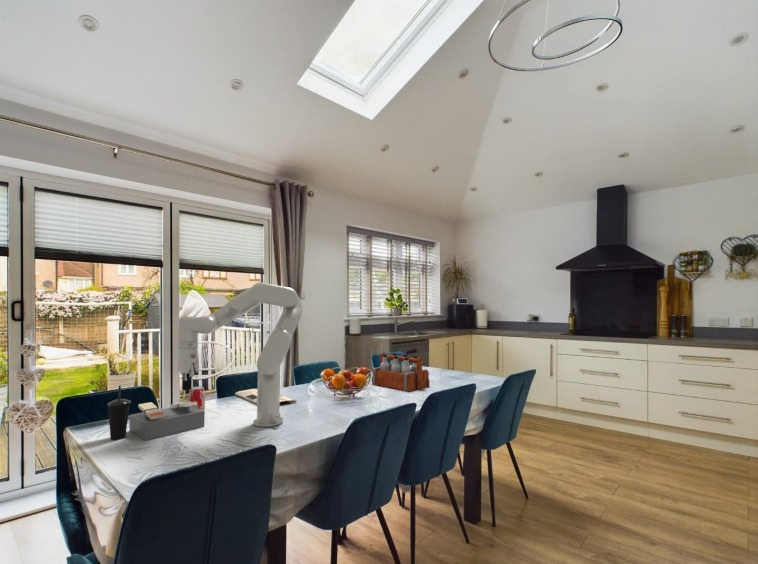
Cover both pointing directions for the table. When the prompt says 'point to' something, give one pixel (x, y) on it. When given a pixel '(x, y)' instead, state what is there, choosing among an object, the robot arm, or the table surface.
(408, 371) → the milk bottle holder
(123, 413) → the drinking cup
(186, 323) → the robot arm
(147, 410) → the sand rocker
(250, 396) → the newspaper
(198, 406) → the soda can
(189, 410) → the switch box
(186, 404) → the white rocker
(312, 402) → the table surface
